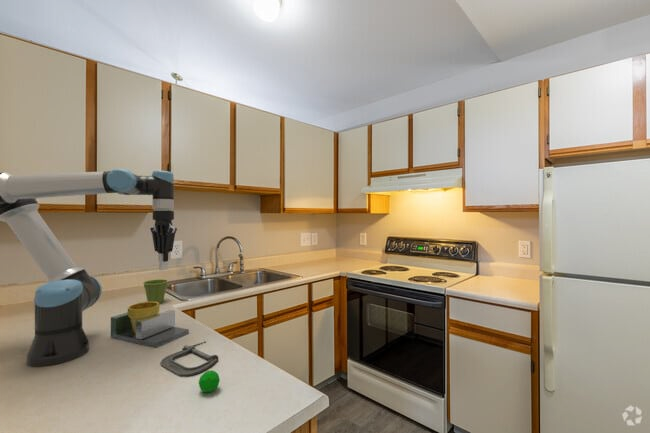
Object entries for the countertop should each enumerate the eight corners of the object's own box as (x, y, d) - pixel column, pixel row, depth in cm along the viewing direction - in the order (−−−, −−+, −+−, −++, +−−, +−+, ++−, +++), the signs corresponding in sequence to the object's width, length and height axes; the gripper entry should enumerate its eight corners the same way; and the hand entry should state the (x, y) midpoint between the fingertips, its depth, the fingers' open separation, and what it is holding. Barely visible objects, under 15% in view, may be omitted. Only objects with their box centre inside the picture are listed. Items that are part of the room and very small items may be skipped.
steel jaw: (141, 339, 106) (141, 322, 106) (135, 338, 108) (135, 321, 108) (175, 326, 119) (175, 310, 119) (169, 325, 120) (169, 310, 120)
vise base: (156, 347, 104) (156, 325, 104) (110, 337, 113) (110, 317, 113) (188, 333, 116) (188, 313, 116) (145, 325, 126) (145, 307, 126)
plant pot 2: (144, 337, 109) (144, 309, 109) (120, 334, 111) (120, 308, 111) (165, 326, 119) (165, 302, 119) (143, 325, 121) (143, 300, 122)
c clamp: (152, 360, 95) (152, 351, 95) (205, 343, 108) (205, 335, 108) (179, 383, 82) (179, 373, 82) (236, 361, 95) (236, 352, 95)
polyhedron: (197, 389, 78) (196, 370, 78) (216, 383, 81) (216, 365, 81) (201, 398, 74) (201, 379, 74) (221, 392, 77) (221, 373, 77)
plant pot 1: (139, 306, 152) (139, 284, 152) (147, 300, 163) (147, 279, 163) (164, 305, 154) (164, 283, 154) (171, 299, 166) (171, 278, 166)
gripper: (182, 210, 120) (183, 269, 120) (161, 210, 126) (161, 267, 126) (165, 209, 114) (165, 272, 114) (143, 210, 119) (143, 270, 119)
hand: (163, 269), depth 120 cm, fingers closed
